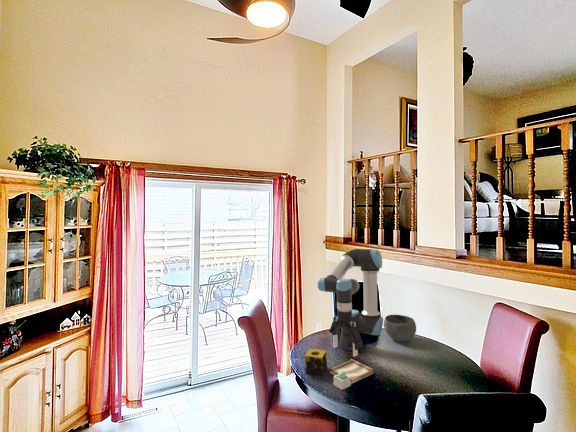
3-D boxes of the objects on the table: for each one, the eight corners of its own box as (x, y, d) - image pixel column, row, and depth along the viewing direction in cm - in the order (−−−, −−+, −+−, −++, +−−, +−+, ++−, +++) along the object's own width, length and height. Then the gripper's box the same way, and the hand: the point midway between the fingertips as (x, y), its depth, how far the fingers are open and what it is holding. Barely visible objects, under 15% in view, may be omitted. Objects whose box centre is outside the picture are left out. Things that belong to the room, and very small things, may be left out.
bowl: (389, 332, 235) (389, 312, 235) (419, 338, 223) (419, 316, 222) (379, 341, 218) (379, 320, 218) (411, 349, 206) (411, 325, 205)
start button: (336, 380, 164) (336, 372, 164) (341, 378, 166) (341, 370, 166) (341, 383, 161) (341, 375, 161) (346, 380, 164) (346, 373, 164)
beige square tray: (329, 372, 178) (329, 367, 178) (351, 363, 188) (351, 358, 188) (350, 384, 165) (350, 379, 165) (373, 373, 175) (373, 369, 175)
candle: (327, 367, 183) (327, 350, 183) (323, 376, 174) (323, 357, 174) (310, 365, 187) (309, 348, 187) (305, 373, 177) (305, 355, 177)
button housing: (333, 384, 165) (333, 376, 165) (342, 381, 168) (341, 372, 168) (342, 389, 160) (341, 380, 160) (350, 385, 163) (350, 377, 163)
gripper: (322, 306, 172) (322, 345, 172) (358, 317, 152) (359, 361, 152) (332, 303, 176) (332, 342, 176) (368, 314, 157) (369, 357, 157)
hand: (345, 351), depth 164 cm, fingers open, 13 cm apart
